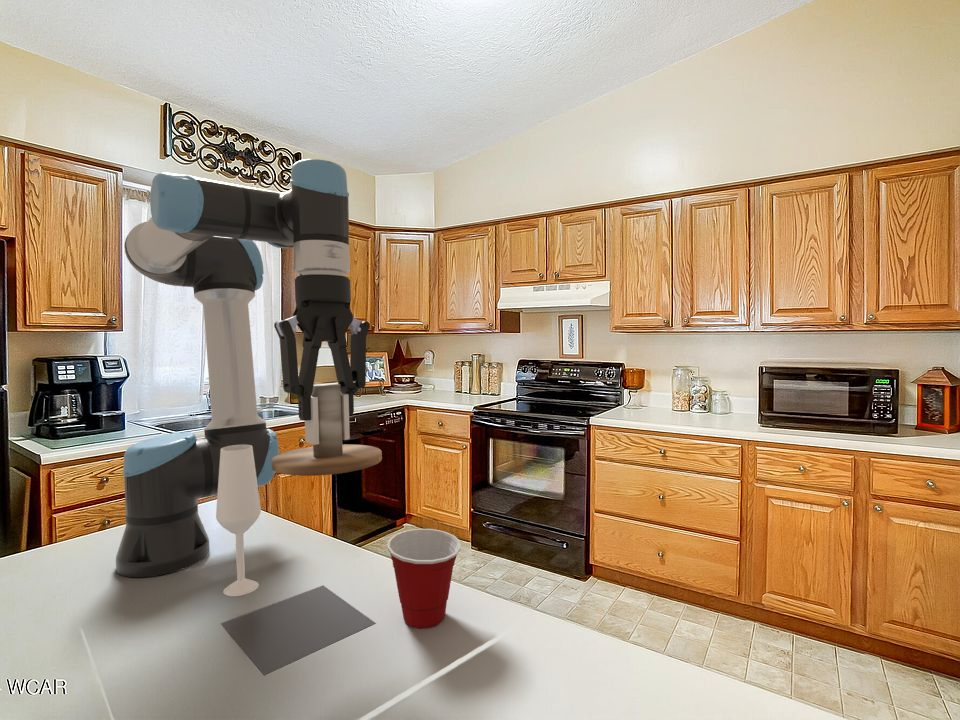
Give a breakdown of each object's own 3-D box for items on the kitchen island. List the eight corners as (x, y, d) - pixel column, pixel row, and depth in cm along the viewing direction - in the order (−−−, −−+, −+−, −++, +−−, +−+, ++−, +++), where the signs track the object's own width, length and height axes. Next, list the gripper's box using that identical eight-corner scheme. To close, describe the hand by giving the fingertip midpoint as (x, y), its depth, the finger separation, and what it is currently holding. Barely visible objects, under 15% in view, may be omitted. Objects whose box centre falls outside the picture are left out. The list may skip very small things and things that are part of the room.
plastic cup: (436, 651, 68) (435, 563, 67) (372, 630, 73) (371, 548, 72) (475, 612, 78) (474, 534, 77) (416, 595, 83) (415, 522, 82)
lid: (255, 462, 73) (252, 386, 73) (350, 446, 83) (348, 379, 83) (299, 482, 62) (296, 392, 62) (402, 461, 72) (400, 383, 72)
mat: (220, 626, 74) (220, 623, 74) (323, 588, 85) (323, 585, 85) (264, 678, 63) (264, 674, 63) (375, 626, 74) (375, 623, 74)
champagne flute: (263, 577, 89) (258, 442, 88) (263, 595, 83) (258, 449, 82) (220, 585, 87) (215, 445, 86) (217, 604, 80) (211, 453, 79)
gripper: (271, 267, 63) (278, 454, 64) (389, 277, 75) (393, 435, 76) (250, 274, 69) (256, 446, 70) (362, 282, 80) (367, 429, 81)
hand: (327, 440), depth 73 cm, fingers closed on lid, 4 cm apart
